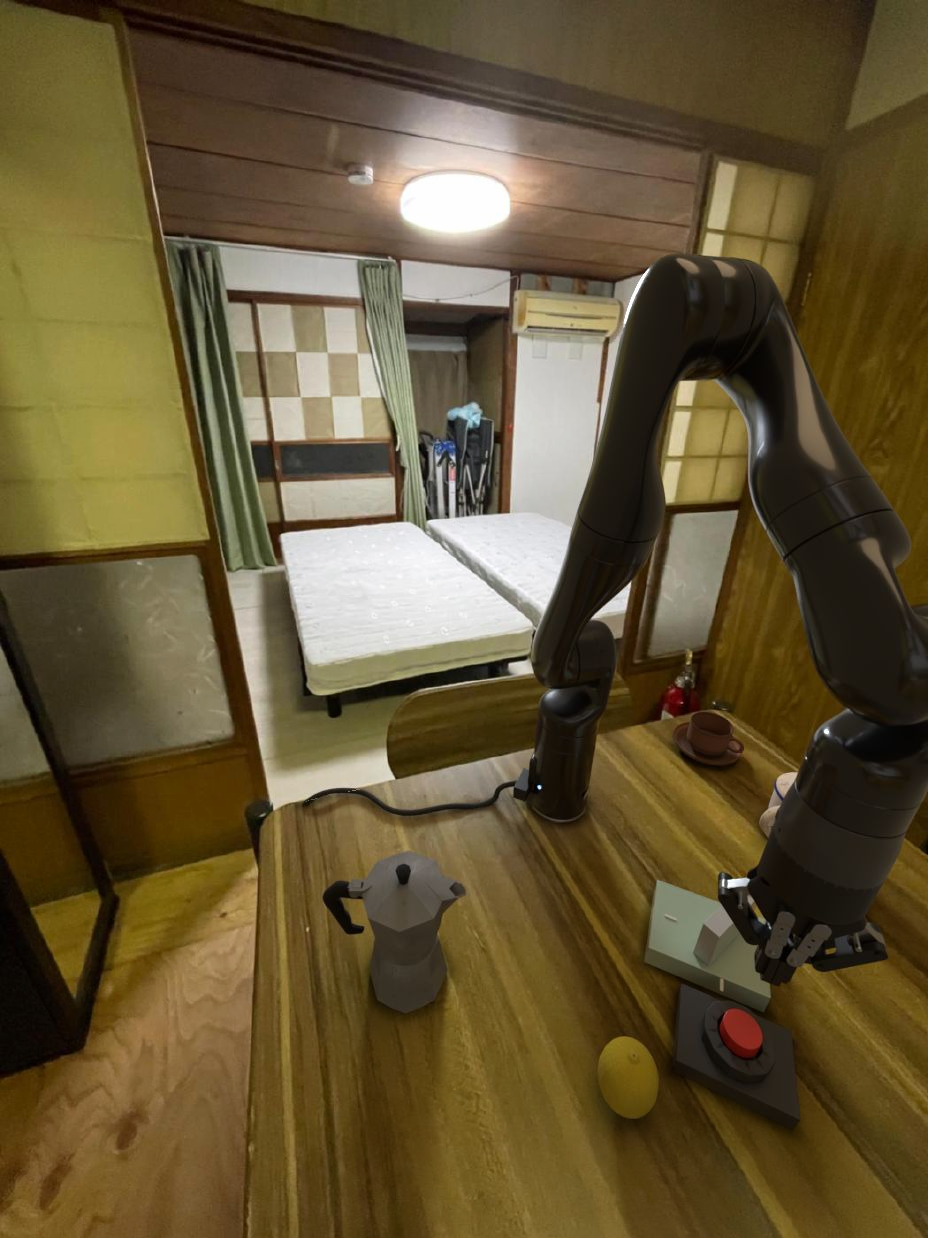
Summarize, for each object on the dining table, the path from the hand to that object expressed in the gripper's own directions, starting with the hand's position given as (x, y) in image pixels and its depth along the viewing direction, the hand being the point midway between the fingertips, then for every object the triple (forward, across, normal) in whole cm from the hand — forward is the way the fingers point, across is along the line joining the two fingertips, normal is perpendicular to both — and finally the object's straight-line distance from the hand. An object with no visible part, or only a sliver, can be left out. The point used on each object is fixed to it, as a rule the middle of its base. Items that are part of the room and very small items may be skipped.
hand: (768, 974), depth 48 cm
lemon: (+15, -10, -8) cm, 20 cm away
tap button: (+11, 0, 0) cm, 11 cm away
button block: (+15, 0, 0) cm, 15 cm away
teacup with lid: (+15, +8, +35) cm, 38 cm away
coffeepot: (+15, -36, -7) cm, 40 cm away
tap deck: (+15, -3, +11) cm, 19 cm away
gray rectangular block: (+12, -2, +11) cm, 16 cm away
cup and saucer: (+15, -4, +52) cm, 54 cm away
